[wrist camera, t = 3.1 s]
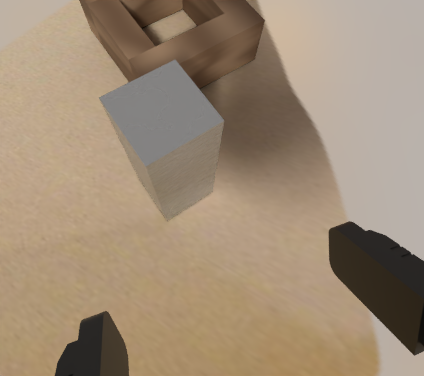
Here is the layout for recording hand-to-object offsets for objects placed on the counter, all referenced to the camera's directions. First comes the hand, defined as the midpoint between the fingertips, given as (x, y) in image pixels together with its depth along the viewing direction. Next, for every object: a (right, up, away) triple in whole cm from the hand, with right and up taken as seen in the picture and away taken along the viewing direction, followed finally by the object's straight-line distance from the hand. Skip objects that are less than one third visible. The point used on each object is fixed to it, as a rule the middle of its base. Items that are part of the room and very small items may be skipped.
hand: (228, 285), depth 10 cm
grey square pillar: (-4, +4, +15) cm, 16 cm away
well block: (-5, +18, +20) cm, 27 cm away
